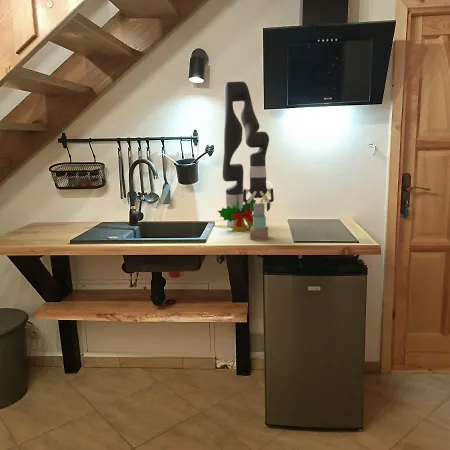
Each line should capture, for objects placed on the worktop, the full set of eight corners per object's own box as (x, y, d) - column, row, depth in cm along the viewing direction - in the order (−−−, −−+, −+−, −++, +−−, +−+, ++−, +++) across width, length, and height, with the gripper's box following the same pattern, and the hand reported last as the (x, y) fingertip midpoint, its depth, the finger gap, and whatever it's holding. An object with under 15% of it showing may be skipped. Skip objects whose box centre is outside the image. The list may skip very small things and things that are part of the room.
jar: (253, 215, 210) (253, 203, 209) (264, 215, 210) (264, 202, 209) (253, 217, 205) (252, 204, 204) (264, 217, 205) (264, 204, 204)
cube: (253, 226, 212) (253, 215, 211) (264, 226, 212) (264, 215, 211) (254, 229, 206) (253, 217, 205) (265, 228, 206) (265, 217, 205)
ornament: (228, 240, 228) (219, 216, 221) (225, 232, 235) (216, 209, 228) (266, 226, 229) (258, 201, 221) (261, 219, 236) (254, 194, 229)
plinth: (251, 236, 214) (251, 226, 213) (267, 236, 213) (267, 226, 212) (250, 240, 206) (250, 229, 205) (267, 240, 205) (267, 229, 204)
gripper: (273, 175, 207) (274, 209, 210) (243, 175, 209) (243, 210, 212) (273, 176, 200) (274, 212, 203) (241, 177, 201) (242, 212, 204)
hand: (258, 211), depth 207 cm, fingers open, 8 cm apart
